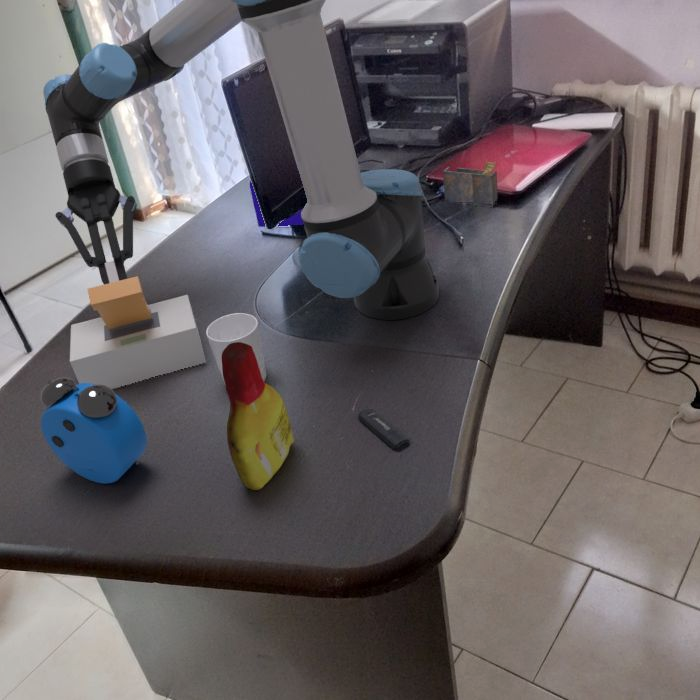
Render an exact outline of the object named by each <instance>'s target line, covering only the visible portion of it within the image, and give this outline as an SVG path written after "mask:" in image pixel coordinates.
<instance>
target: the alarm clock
mask: <svg viewBox="0 0 700 700" xmlns="http://www.w3.org/2000/svg"><path fill="white" fill-rule="evenodd" d="M40 402H41V404H42V406H43V407H44V408H46V409H45V410H44V411H43V413H42V415H41V419H40V427H41V431H42V435H43V436H44V439H45V441H46V443H47V445H48V446H49V448H50V449H51V450H52V452H53V453H54V454H55V455H56V457H57V458H59V460H60V461H61V462H63V464H64V465H66V466H67V467H68V468H69V469H71V470H72V471H73V472H75V473H76V474H77V475H79V476H81V477H82V478H85V479H86V480H88V481H91V482H95V483H98V484H112V483H115V482H117V481H118V480H120V479H121V477H122V476H123V475H124V474H126V472H127V471H128V470H129V469H131V467H132V466H133V464H135V466H137V465H138V464H139V465H140V463H139V461H138V460H139V458H140V457H142V455H143V454H144V453H145V451H146V449H147V444H148V438H147V433H146V430H145V426H144V424H143V422H142V421H141V419H140V418H139V416H138V415H137V413H136V412H135V410H134V409H133V408H132V407H131V406H130V404H129V403H127V402H126V401H125V400H124V399H123V398H122V397H120V396H119V395H117V394H116V393H115V391H114V389H110V388H109V387H107V386H104V385H97V384H92V383H80V384H79V383H77V382H75V381H74V380H73V379H71V378H69V377H57V378H54V379H53V380H50V379H48V380H47V384H46V385H45V386H44V387H43V388H42V390H41V393H40ZM139 465H138V466H139Z"/></svg>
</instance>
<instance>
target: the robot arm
mask: <svg viewBox="0 0 700 700" xmlns="http://www.w3.org/2000/svg"><path fill="white" fill-rule="evenodd" d="M326 1H327V0H181V1H180V2H179V3H178V4H177V5H176V6H175V7H173V8H172V9H171V10H170V11H169V12H168V13H167V14H165V15H164V16H162V17H161V18H160V19H159V20H158V21H157V22H156V23H155V24H153V25H152V27H150V28H149V29H147V30H146V31H145V32H144V33H143V34H142V35H140V37H138V38H136V39H135V40H133V41H130V42H127V43H126V44H122V45H120V46H119V45H117V44H111V43H108V42H101V43H98V44H97V45H95V46H94V47H93V48H92V49H91V50H90V51H89V52H88V53H86V54H85V55H84V57H83V58H82V59H81V61H80V64H79V65H78V66H77V68H76V69H75V71H74V72H73V73H72V74H60V75H57V76H55V77H54V79H49V80H48V81H47V82H46V83H45V84H44V86H43V91H42V92H43V99H44V107H45V108H44V109H45V112H46V114H47V118H48V121H49V122H48V123H49V126H50V129H51V133H52V137H53V139H54V143H55V146H56V147H55V148H56V152H57V157H58V160H59V164H60V169H61V171H62V172H63V173H62V176H63V180H64V184H65V188H66V192H67V195H68V196H67V197H68V198H67V201H66V207H65V208H64V209H63V210H62V211H57V212H56V213H55V218H56V219H57V221H58V222H59V223H60V225H61V226H62V227H64V228H65V229H66V230H67V232H68V234H69V235H70V237H71V239H72V241H73V243H74V245H75V246H76V248H77V250H78V252H79V254H80V255H81V257H82V259H83V262H85V264H86V266H87V267H89V268H98V272H99V275H100V278H101V279H100V280H101V282H102V285H105V284H109V283H112V282H116V281H120V280H124V279H128V275H127V273H126V272H127V271H126V268H125V262H126V260H128V259H131V258H133V256H134V214H135V211H136V209H137V206H138V205H137V204H138V203H137V202H136V199H135V197H134V196H133V195H129V196H125V195H123V194H122V195H121V193H120V191H119V190H118V189H117V188H116V185H115V181H114V177H113V173H112V170H111V166H110V165H109V162H110V161H109V157H108V155H107V150H106V146H105V143H104V138H103V135H102V132H101V128H100V122H101V121H102V120H103V119H104V118H105V117H106V116H107V115H108V113H110V112H111V110H112V109H114V107H115V106H116V105H117V104H118V103H120V102H123V101H125V100H126V99H129V98H131V97H133V96H135V95H137V94H140V93H141V92H145V90H147V89H149V88H151V87H154V86H155V85H157V84H161V83H163V82H167V81H169V80H171V79H172V78H175V76H176V75H178V74H180V73H181V72H182V71H183V69H184V67H185V65H186V64H188V63H189V61H191V60H193V59H194V58H195V57H196V56H198V55H199V54H200V53H202V52H203V51H205V50H206V49H207V48H208V47H210V46H211V45H212V44H214V43H215V42H216V41H218V40H219V39H220V38H222V37H223V36H224V35H226V34H227V33H228V32H229V31H232V29H233V28H235V27H236V26H238V25H239V24H240V23H241V22H242V23H245V24H246V25H247V26H250V27H251V28H252V29H254V30H255V31H256V33H257V37H258V39H259V43H260V46H261V49H262V52H263V55H264V59H265V63H266V66H267V70H268V73H269V77H270V80H271V83H272V86H273V87H272V88H273V89H274V93H275V96H276V100H277V103H278V107H279V110H280V112H281V113H280V114H281V116H282V120H283V123H284V126H285V129H286V133H287V137H288V141H289V143H290V147H291V150H292V154H293V158H294V160H295V163H296V168H297V171H299V174H300V178H301V181H302V184H303V188H304V191H305V195H306V198H307V203H306V204H305V206H304V208H303V210H302V211H301V217H302V221H303V224H304V227H303V228H304V230H305V233H306V237H307V238H305V239H304V240H303V242H302V245H301V247H300V250H299V254H298V257H299V259H298V260H299V265H300V268H301V270H302V272H303V274H304V275H305V277H306V279H308V281H309V282H310V283H311V284H312V285H313V286H314V287H315V288H318V289H320V290H321V291H323V293H325V294H327V295H329V296H332V297H335V298H340V299H352V298H353V302H354V306H355V309H356V310H357V311H358V312H359V313H361V314H362V315H363V316H367V317H369V318H371V319H376V320H385V321H389V320H390V321H395V320H397V321H398V320H402V319H403V320H404V319H408V318H413V317H416V316H419V315H421V314H422V313H425V312H427V311H429V310H430V309H431V308H433V306H435V305H436V303H437V302H438V300H439V297H440V291H439V283H438V278H437V276H436V275H435V272H434V271H433V267H432V266H431V263H430V260H429V259H428V256H427V254H426V242H425V230H424V216H423V214H424V213H423V201H422V196H423V192H422V190H421V186H420V180H419V177H418V176H417V175H416V174H414V173H413V172H410V171H409V170H404V169H398V168H397V169H395V168H391V169H389V168H386V169H385V168H381V169H373V170H372V169H371V170H368V171H364V172H363V171H362V172H361V170H360V165H359V162H358V158H357V155H356V151H355V150H356V149H355V145H354V142H353V138H352V134H351V131H350V126H349V123H348V118H347V114H346V111H345V106H344V103H343V98H342V94H341V91H340V87H339V81H338V79H337V75H336V72H335V67H334V63H333V58H332V55H331V52H330V47H329V42H328V39H327V36H326V35H327V34H326V31H325V30H326V29H325V27H324V24H323V23H324V22H323V19H322V15H321V13H322V8H323V6H324V4H325V3H326ZM119 205H120V207H121V209H122V249H121V248H120V244H119V240H118V236H117V233H116V229H115V224H114V220H113V218H114V215H115V214H116V212H117V210H118V208H119ZM73 214H74V215H76V216H77V218H79V219H81V220H82V221H84V222H85V224H86V226H87V230H88V233H89V237H90V241H91V246H92V250H93V253H94V256H92V255H91V253H90V252H89V250H88V248H87V245H86V244H85V242H84V240H83V239H82V237H81V235H80V234H79V231H78V230H77V228H76V226H75V225H74V222H75V221H74V220H75V218H74V216H73ZM100 222H103V226H104V229H105V232H106V233H105V234H106V237H107V239H108V244H109V249H110V252H111V256H112V259H113V260H111V261H107V259H106V254H105V251H104V247H103V244H102V239H101V235H100V231H99V225H98V223H100Z"/></svg>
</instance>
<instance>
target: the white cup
mask: <svg viewBox="0 0 700 700" xmlns="http://www.w3.org/2000/svg"><path fill="white" fill-rule="evenodd" d="M258 321H259V320H258V319H257V318H256V317H255V316H254V315H252V314H250V313H243V312H235V313H230V314H227V315H223V316H221V317H219V318H216V319H215V320H213V321H212V322H211V323H210V324H209V325H208V326H207V328H206V331H205V333H206V334H205V335H206V337H207V340H208V342H209V346H210V349H211V352H212V355H213V357H214V360H215V363H216V367H217V368H218V371H219V372H220V374H221V377H222V380H223V383H224V386H225V387H226V385H225V382H224V378H223V371H222V353H223V350H224V349H225V348H226V347H227V346H228V345H229V344H231V343H235V342H241V343H245V344H248V345H250V346H252V349H253V352H254V354H255V357H256V359H257V362H258V367H259V369H260V373H261V377H262V379H263V381H264V382H265V381H266V378H267V372H266V371H267V370H266V366H265V357H264V356H265V355H264V349H263V344H262V339H261V332H260V327H259V322H258Z"/></svg>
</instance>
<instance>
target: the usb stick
mask: <svg viewBox="0 0 700 700" xmlns="http://www.w3.org/2000/svg"><path fill="white" fill-rule="evenodd" d="M357 418H358V421H360V422H361V423H362V424H363V425H364V426H366V428H368V430H370V431H371V432H372V433H374V435H376V436H377V437H378V438H379V439H380V440H382V441H383V442H384V443H385V444H387V445H388V446H389V447H390V448H391V449H392V450H394V451H395V452H399V451H401V450H403V449H404V448H406V447H408V446H409V444H410V439H409V438H407V437H406V436H405V435H403V433H401V432H400V431H399V430H398V429H396V427H394V426H393V425H391V424H390V422H388V421H387V420H385V419H384V418H383V417H382V416H380V415H379V414H378V413H377V412H375V410H373V409H371V408H367V409H364V410H362V411H360V412H359V413H358V415H357Z"/></svg>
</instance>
